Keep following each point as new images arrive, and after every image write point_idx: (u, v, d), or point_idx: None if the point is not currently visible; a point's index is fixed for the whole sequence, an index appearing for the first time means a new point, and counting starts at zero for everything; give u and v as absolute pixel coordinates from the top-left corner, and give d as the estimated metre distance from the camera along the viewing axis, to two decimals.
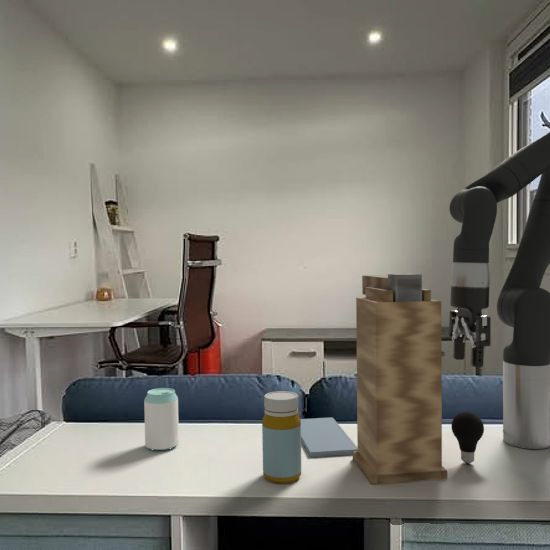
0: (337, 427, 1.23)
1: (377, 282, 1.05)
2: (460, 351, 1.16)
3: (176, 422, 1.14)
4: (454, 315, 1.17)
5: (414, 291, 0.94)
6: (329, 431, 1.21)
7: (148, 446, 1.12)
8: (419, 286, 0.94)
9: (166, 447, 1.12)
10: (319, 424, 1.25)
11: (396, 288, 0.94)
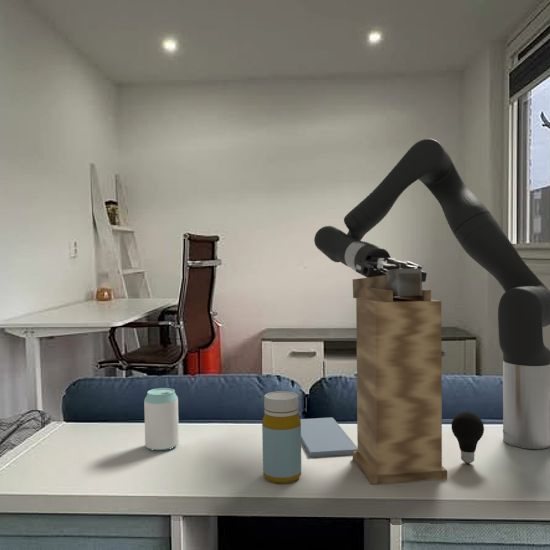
0: (337, 427, 1.23)
1: (373, 281, 1.05)
2: None
3: (176, 422, 1.14)
4: None
5: (414, 285, 0.95)
6: (329, 431, 1.21)
7: (148, 446, 1.12)
8: (419, 281, 0.96)
9: (166, 447, 1.12)
10: (319, 424, 1.25)
11: (398, 282, 0.95)
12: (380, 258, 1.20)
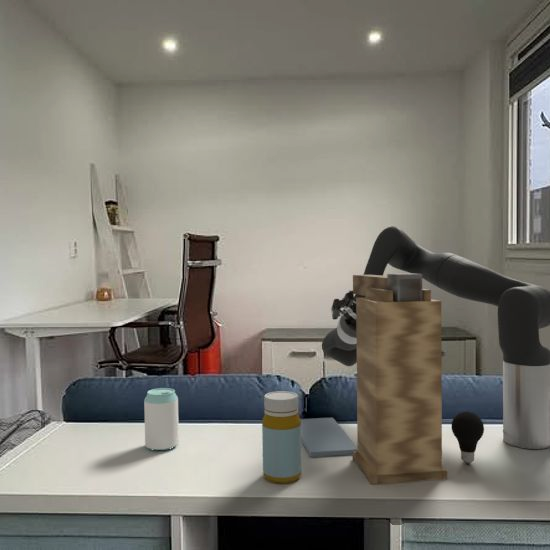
0: (337, 427, 1.23)
1: (373, 281, 1.05)
2: None
3: (176, 422, 1.14)
4: None
5: (415, 291, 0.95)
6: (329, 431, 1.21)
7: (148, 446, 1.12)
8: (420, 286, 0.95)
9: (166, 447, 1.12)
10: (319, 424, 1.25)
11: (398, 288, 0.94)
12: None
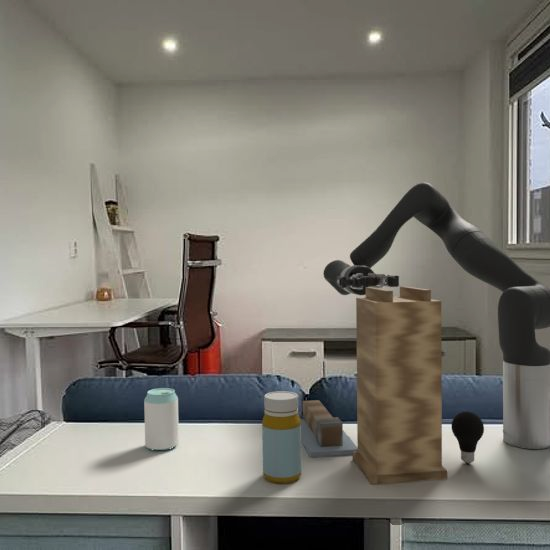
0: None
1: (311, 417, 1.21)
2: (390, 281, 1.26)
3: (176, 422, 1.14)
4: None
5: (335, 437, 1.11)
6: None
7: (148, 446, 1.12)
8: (340, 433, 1.11)
9: (166, 447, 1.12)
10: None
11: (320, 435, 1.10)
12: None
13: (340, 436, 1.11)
